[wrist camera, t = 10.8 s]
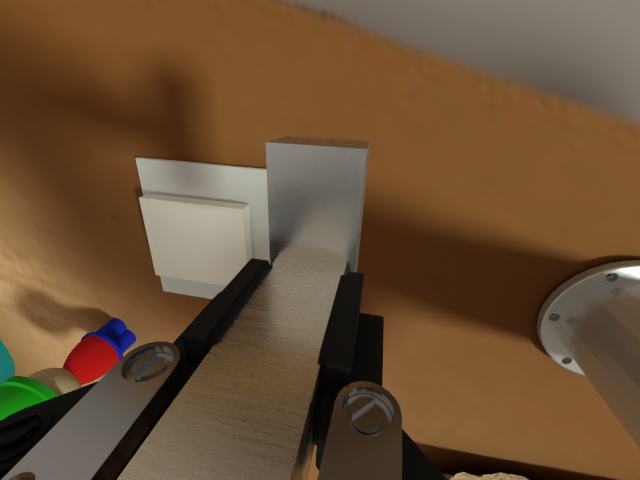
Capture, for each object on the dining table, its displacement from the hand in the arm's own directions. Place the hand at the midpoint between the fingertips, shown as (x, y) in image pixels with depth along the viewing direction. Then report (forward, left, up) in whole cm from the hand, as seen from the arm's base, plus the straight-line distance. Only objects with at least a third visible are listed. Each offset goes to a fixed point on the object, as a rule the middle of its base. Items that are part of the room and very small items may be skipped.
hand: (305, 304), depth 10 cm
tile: (+10, +8, -17) cm, 22 cm away
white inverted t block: (0, 0, -3) cm, 3 cm away
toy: (+31, +25, -19) cm, 44 cm away
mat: (+14, +8, -19) cm, 25 cm away
